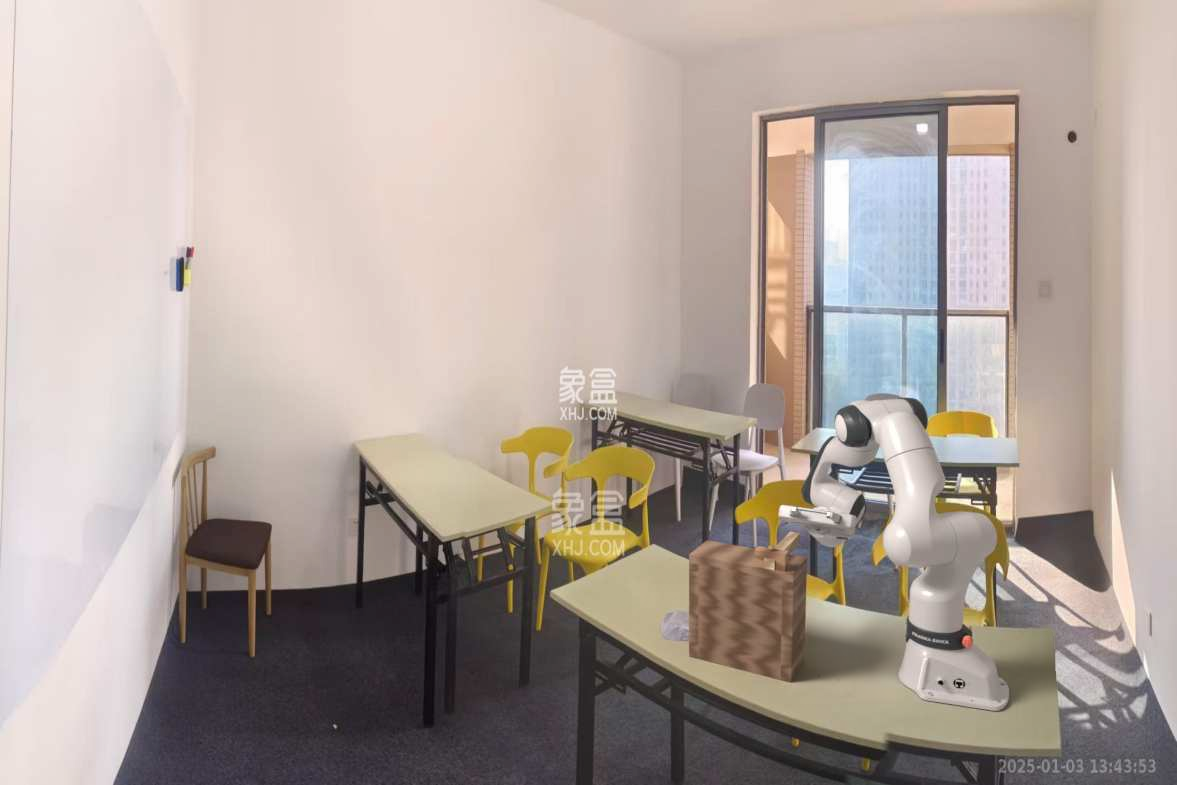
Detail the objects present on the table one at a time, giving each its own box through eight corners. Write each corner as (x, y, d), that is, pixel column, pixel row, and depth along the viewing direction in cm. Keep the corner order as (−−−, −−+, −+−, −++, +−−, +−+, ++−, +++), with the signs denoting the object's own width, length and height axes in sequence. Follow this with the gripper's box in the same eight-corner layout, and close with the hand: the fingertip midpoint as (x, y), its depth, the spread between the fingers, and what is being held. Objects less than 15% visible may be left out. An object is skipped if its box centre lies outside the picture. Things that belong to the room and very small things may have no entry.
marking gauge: (809, 544, 191) (809, 524, 190) (784, 572, 174) (784, 550, 173) (780, 539, 194) (781, 520, 194) (754, 566, 177) (754, 545, 177)
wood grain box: (804, 661, 186) (807, 557, 182) (790, 682, 177) (793, 573, 173) (706, 637, 199) (706, 540, 195) (689, 656, 190) (689, 554, 186)
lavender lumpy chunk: (661, 647, 199) (700, 643, 196) (657, 629, 198) (696, 625, 196) (666, 627, 210) (703, 623, 208) (663, 611, 210) (699, 606, 207)
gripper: (787, 506, 222) (774, 494, 210) (861, 517, 211) (852, 505, 200) (783, 528, 220) (770, 517, 209) (858, 540, 210) (848, 529, 198)
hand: (811, 511), depth 204 cm, fingers open, 8 cm apart
